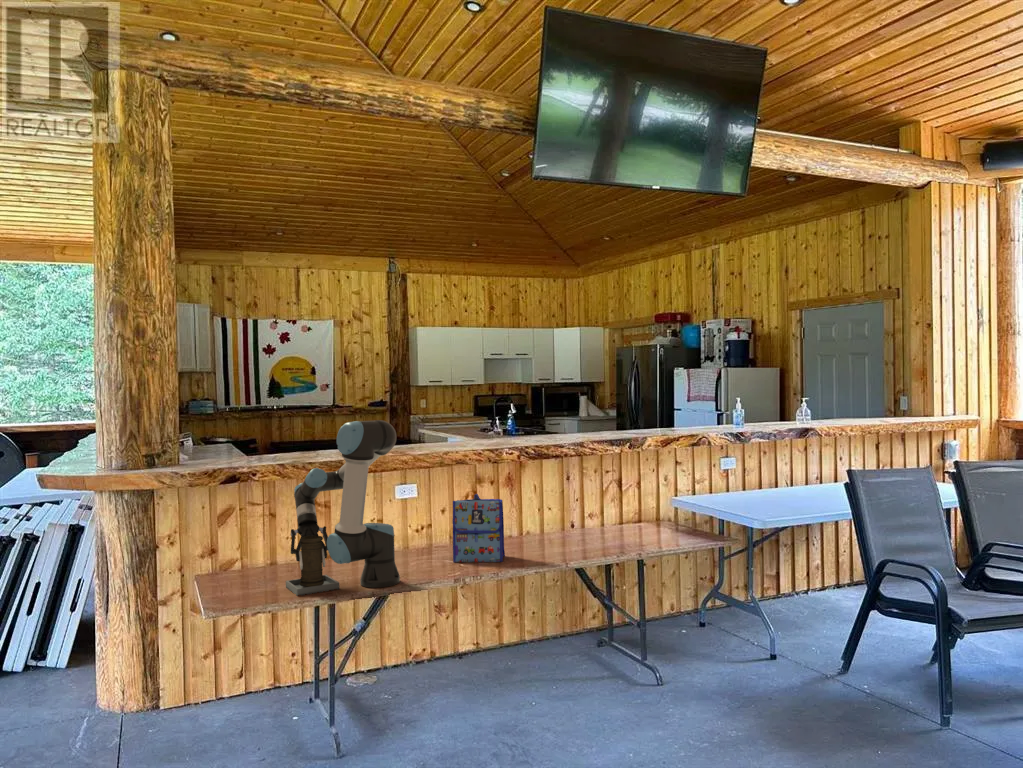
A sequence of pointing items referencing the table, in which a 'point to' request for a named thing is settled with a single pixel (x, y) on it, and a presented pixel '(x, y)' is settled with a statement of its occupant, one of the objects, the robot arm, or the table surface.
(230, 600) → the table surface
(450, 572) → the table surface
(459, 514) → the lunch bag
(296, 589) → the tray
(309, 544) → the container
